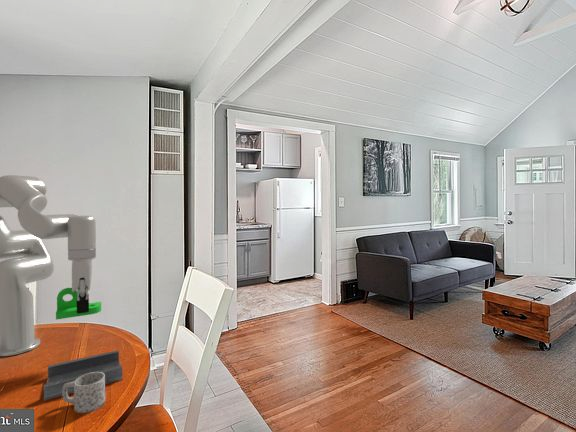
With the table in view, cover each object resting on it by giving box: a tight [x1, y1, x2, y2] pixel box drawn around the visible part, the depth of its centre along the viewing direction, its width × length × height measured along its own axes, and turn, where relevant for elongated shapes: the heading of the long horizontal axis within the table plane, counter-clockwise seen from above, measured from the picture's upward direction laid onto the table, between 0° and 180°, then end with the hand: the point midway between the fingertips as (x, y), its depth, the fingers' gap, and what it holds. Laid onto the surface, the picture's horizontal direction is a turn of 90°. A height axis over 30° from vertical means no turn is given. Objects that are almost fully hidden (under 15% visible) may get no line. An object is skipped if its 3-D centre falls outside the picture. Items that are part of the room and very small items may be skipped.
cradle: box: [43, 349, 124, 401], centre depth 92 cm, size 13×18×4 cm
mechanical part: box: [55, 287, 102, 320], centre depth 102 cm, size 12×6×8 cm, turn 122°
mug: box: [61, 372, 106, 414], centre depth 80 cm, size 10×7×7 cm, turn 92°
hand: (82, 308), depth 103 cm, fingers closed on mechanical part, 6 cm apart
